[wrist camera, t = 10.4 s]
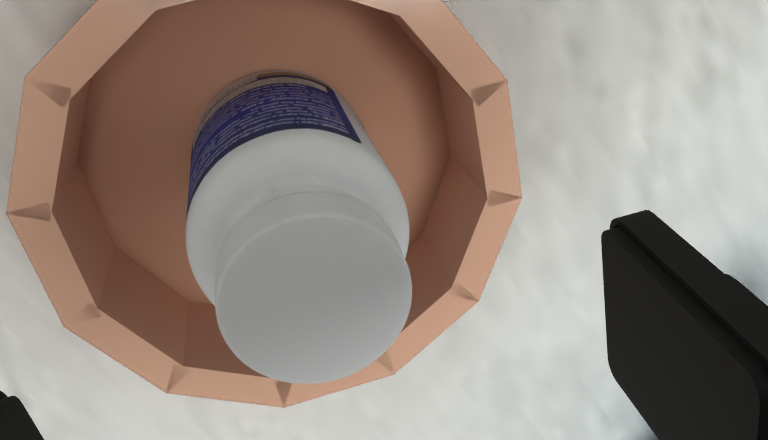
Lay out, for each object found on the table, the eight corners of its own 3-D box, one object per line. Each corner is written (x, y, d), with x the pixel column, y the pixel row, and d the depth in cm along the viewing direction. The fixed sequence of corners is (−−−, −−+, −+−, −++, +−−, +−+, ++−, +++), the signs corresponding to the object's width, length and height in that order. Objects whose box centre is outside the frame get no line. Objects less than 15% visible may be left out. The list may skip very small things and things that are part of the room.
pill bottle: (154, 157, 21) (117, 320, 13) (275, 28, 20) (310, 122, 13) (285, 259, 24) (319, 448, 16) (398, 147, 23) (493, 289, 15)
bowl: (-29, -9, 19) (-92, 19, 15) (432, -118, 20) (482, -118, 16) (142, 365, 25) (128, 454, 21) (491, 264, 26) (538, 331, 22)
